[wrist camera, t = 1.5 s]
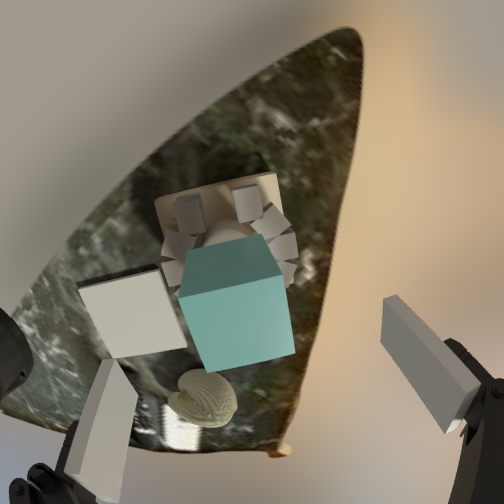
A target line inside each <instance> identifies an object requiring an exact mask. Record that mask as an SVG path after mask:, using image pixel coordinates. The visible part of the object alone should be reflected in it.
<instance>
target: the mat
mask: <svg viewBox="0 0 504 504" xmlns="http://www.w3.org/2000/svg"><path fill="white" fill-rule="evenodd" d="M78 291H79V293H80V295H81V297H82V299H83V302H84V304H85V306H86V308H87V310H88V312H89V314H90V316H91V318H92V320H93V322H94V324H95V326H96V328H97V330H98V332H99V334H100V335H101V337H102V339H103V341H104V343H105V345H106V347H107V348H108V350H109V352H110V354H111V355H112V357H113V358H121V357H128V356H135V355H142V354H149V353H155V352H161V351H167V350H173V349H179V348H184V347H187V341H186V339H185V336H184V334H183V331H182V329H181V326H180V324H179V321H178V319H177V316H176V314H175V311H174V308H173V306H172V303H171V300H170V298H169V295H168V292H167V289H166V287H165V284H164V281H163V278H162V275H161V273H160V270H159V269H155V270H151V271H146V272H142V273H138V274H134V275H129V276H125V277H121V278H117V279H113V280H108V281H104V282H100V283H96V284H92V285H87V286H83V287H80V288H79V289H78Z"/></svg>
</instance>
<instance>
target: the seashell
mask: <svg viewBox="0 0 504 504" xmlns="http://www.w3.org/2000/svg"><path fill="white" fill-rule="evenodd" d="M178 388H179V390H180V392H173V393H171V394H170V396H169V397H168V404H169V406H170V408H171V409H172V410H173V411H174V412H175V413H177V414H178V415H180V416H181V417H182V418H184V419H185V420H187V421H189V422H190V423H192V424H195V425H198V426H203V427H220V426H223V425H225V424H227V423H228V422H229V421H230V419H231V418H232V416H233V413H234V412H235V410H236V409H237V400H236V395H235V392H234V390H233V388H232V386H231V385H230V383H229V382H228V381H227V380H226V379H225V378H224V377H223V376H222V375H220V374H218V373H217V372H209V373H207V372H206V369H194V370H190V371H187V372H186V373H184V374H183V375H182V376H181V377H180V378H179V380H178Z"/></svg>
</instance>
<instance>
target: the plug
mask: <svg viewBox="0 0 504 504" xmlns="http://www.w3.org/2000/svg"><path fill="white" fill-rule="evenodd" d="M178 300H179V303H180V306H181V308H182V311H183V314H184V317H185V319H186V322H187V324H188V327H189V330H190V332H191V335H192V337H193V340H194V342H195V345H196V347H197V350H198V352H199V355H200V357H201V360H202V362H203V364H204V367H205V369H206V372H207V373H209V372H214V371H220V370H225V369H230V368H235V367H239V366H244V365H249V364H253V363H258V362H262V361H266V360H270V359H274V358H278V357H282V356H286V355H290V354H294V353H295V349H294V342H293V335H292V329H291V322H290V316H289V310H288V303H287V297H286V291H285V285H284V279H283V274H282V272H281V270H280V268H279V266H278V264H277V262H276V260H275V258H274V256H273V255H272V253H271V251H270V249H269V247H268V245H267V243H266V241H265V239H264V237H263V235H262V234H258V233H257V232H252V233H251V231H250V230H249V229H248V227H246V226H245V225H244V224H243V223H240V224H239V222H238V221H236V220H230V219H227V220H221V221H218V222H216V223H214V224H212V225H211V226H210V227H209V228H208V229H207V230H206V232H205V233H204V236H203V239H202V245H201V248H197V249H193V250H188V251H187V255H186V260H185V265H184V270H183V275H182V280H181V285H180V290H179V295H178Z"/></svg>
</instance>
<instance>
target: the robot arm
mask: <svg viewBox="0 0 504 504" xmlns="http://www.w3.org/2000/svg"><path fill="white" fill-rule="evenodd" d="M381 343H382V345H383V346H384V347H385V349H386V350H387V351H388V353H389V354H390V355H391V357H392V358H393V360H394V361H395V363H396V364H397V365H398V367H399V368H400V370H401V371H402V372H403V374H404V375H405V377H406V378H407V379H408V381H409V382H410V384H411V385H412V386H413V388H414V389H415V391H416V392H417V394H418V395H419V397H420V398H421V400H422V401H423V402H424V404H425V405H426V407H427V408H428V410H429V411H430V413H431V414H432V416H433V417H434V419H435V420H436V422H437V423H438V425H439V426H440V428H441V429H442V431H443V432H444V434H447V433H449V432H450V431H452V430H453V429H455V428H457V427H458V426H459V425H460V424H461V422H462V420H463V418H464V419H465V420H466V422H467V424H466V426H465V427H464V429H463V430H462V432H461V434H460V437H462V436H463V434H464V439H463V445H462V450H461V455H460V460H459V465H458V469H457V473H456V477H455V481H454V485H453V488H452V492H451V495H450V499H449V502H448V504H504V379H501V378H498V379H494V378H493V377H492V376H491V375H490V374H489V373H488V372H487V371H486V369H485V368H484V367H483V366H482V365H481V364H480V363H479V362H478V361H477V360H476V359H475V358H474V357H472V355H471V354H470V353H469V352H467V349H466V348H464V346H463V345H462V344H461V343H459V342H457V341H455V340H453V339H451V338H449V339H447V340H445V341H442V340H441V339H440V338H439V337H438V336H437V335H436V334H435V333H434V332H433V331H432V330H431V328H429V327H428V326H427V324H426V323H425V322H424V321H423V320H422V319H421V318H420V317H419V316H417V314H416V313H415V312H414V311H412V309H411V308H410V307H409V306H407V304H405V302H404V301H403V300H402V299H400V298H399V297H398V296H397V295H394V296H391V297H388V298H385V299H383V315H382V330H381ZM32 369H33V357H32V353H31V350H30V347H29V345H28V343H27V341H26V339H25V337H24V335H23V334H22V332H21V331H20V329H19V328H18V326H17V325H16V324H15V322H14V321H13V320H12V319H11V318H10V317H9V315H8V314H7V313H6V312H4V310H2V309H1V308H0V403H1V401H2V399H3V398H4V397H6V396H7V395H8V394H10V393H11V392H12V391H14V390H15V389H16V388H18V387H19V386H21V385H22V384H23V383H24V382H25V381H26V380H27V378H28V376H29V375H30V373H31V371H32ZM137 398H138V394H137V393H136V391H135V390H134V388H133V387H132V385H131V384H130V382H129V380H128V379H127V377H126V376H125V374H124V372H123V371H122V369H121V367H120V366H119V364H118V362H117V361H116V359H115V358H114V359H106V360H102V363H101V365H100V367H99V370H98V372H97V375H96V377H95V380H94V383H93V385H92V388H91V390H90V393H89V396H88V398H87V401H86V404H85V407H84V409H83V412H82V415H81V418H80V421H74V422H73V423H72V424H71V426H70V427H69V428H68V431H67V434H66V437H65V440H64V443H63V447H62V449H61V452H60V455H59V458H58V461H57V465H56V468H55V471H53V470H52V469H51V468H50V467H48V466H47V465H46V464H44V463H37V464H34V465H33V466H32V467H31V468H30V469H29V471H28V475H27V479H28V482H29V483H30V484H29V483H28V482H27V481H25V480H24V479H22V478H16V479H14V480H13V481H12V482H11V484H10V486H9V499H10V504H97V502H96V501H95V500H96V496H97V497H98V498H100V499H101V500H103V501H105V502H112V503H119V499H120V492H121V484H122V478H123V471H124V465H125V460H126V454H127V448H128V443H129V437H130V432H131V427H132V422H133V417H134V412H135V407H136V403H137Z"/></svg>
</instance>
